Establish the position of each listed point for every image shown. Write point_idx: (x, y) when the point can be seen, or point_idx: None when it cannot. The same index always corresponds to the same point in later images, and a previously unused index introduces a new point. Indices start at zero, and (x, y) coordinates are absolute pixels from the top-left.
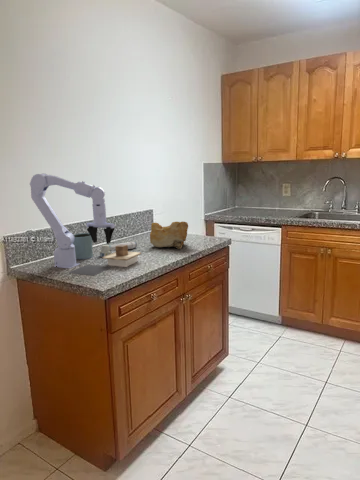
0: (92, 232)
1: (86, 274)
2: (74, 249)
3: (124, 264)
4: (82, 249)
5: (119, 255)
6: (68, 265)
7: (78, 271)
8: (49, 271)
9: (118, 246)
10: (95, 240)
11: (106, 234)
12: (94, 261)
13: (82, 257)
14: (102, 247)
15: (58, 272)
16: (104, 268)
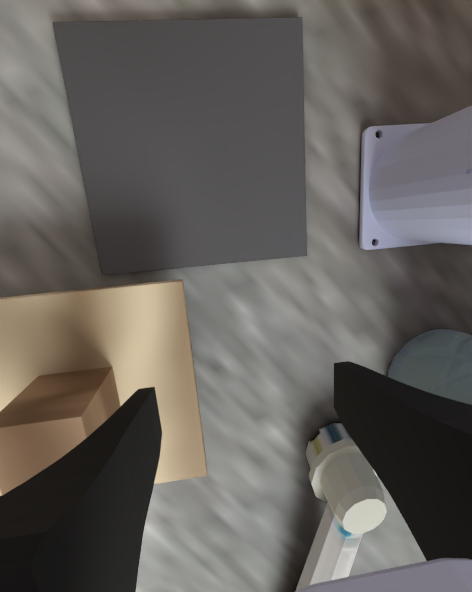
0: (436, 442)
1: (133, 32)
2: (464, 202)
3: None
4: (466, 369)
5: (77, 372)
6: (394, 145)
7: (248, 81)
8: (461, 30)
9: (41, 421)
10: (344, 398)
11: (76, 467)
12: (325, 343)
13: (425, 343)
14: (366, 482)
15: (385, 33)
16: (127, 220)
